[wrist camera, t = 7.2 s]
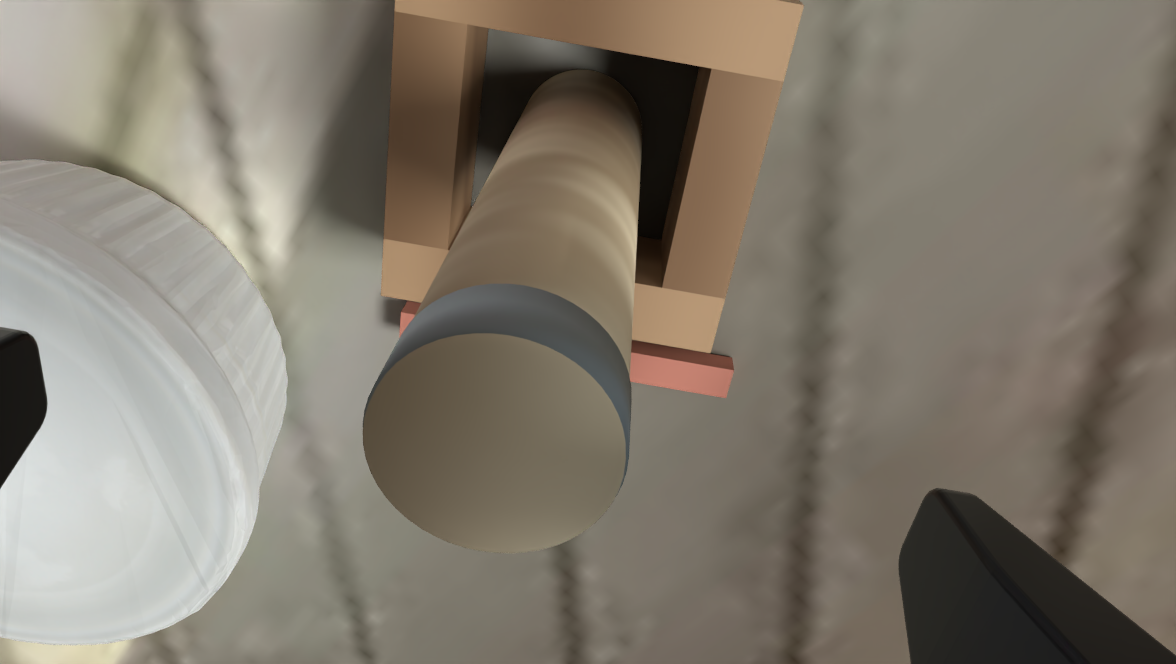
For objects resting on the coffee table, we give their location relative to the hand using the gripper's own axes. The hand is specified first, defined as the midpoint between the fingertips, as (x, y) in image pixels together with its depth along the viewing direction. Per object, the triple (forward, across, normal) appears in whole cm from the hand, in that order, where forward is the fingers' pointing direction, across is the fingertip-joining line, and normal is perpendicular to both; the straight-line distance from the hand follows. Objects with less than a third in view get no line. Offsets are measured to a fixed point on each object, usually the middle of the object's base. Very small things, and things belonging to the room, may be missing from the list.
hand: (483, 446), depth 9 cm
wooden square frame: (+11, 0, 0) cm, 11 cm away
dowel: (+11, 0, 0) cm, 11 cm away
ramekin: (+12, +11, +7) cm, 18 cm away
